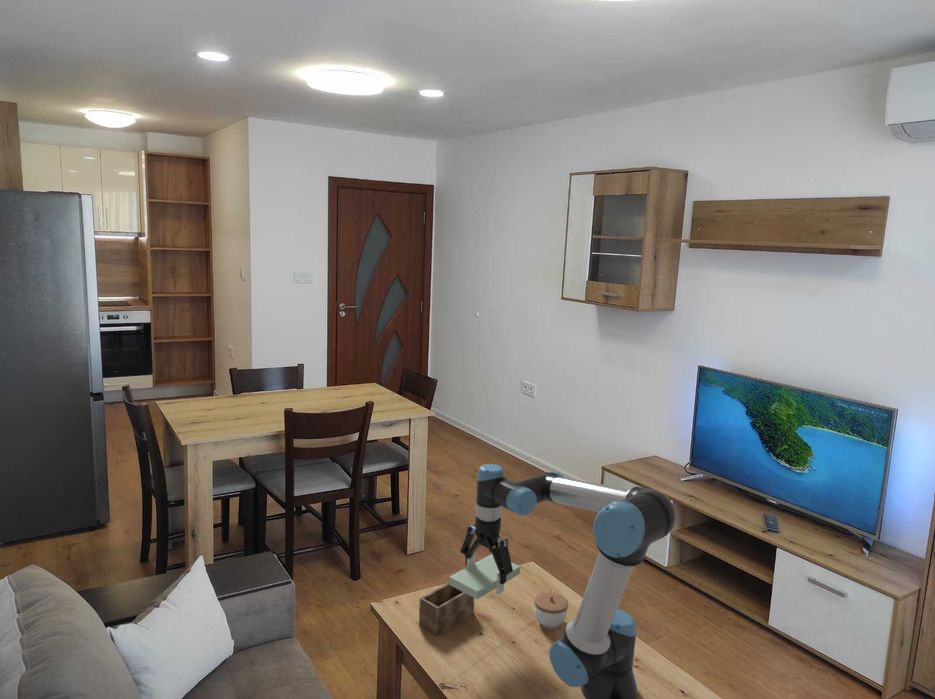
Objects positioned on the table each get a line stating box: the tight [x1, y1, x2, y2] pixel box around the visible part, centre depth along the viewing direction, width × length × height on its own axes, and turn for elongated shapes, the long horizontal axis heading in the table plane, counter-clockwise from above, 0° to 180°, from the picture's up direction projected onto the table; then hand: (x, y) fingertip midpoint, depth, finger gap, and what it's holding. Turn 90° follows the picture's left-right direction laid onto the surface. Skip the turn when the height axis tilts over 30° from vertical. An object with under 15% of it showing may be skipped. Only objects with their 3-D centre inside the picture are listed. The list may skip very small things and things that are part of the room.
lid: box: [448, 553, 521, 600], centre depth 201 cm, size 20×11×4 cm, turn 138°
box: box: [418, 582, 475, 637], centre depth 213 cm, size 17×8×10 cm, turn 138°
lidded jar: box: [534, 591, 569, 629], centre depth 215 cm, size 11×11×9 cm
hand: (484, 584), depth 201 cm, fingers closed on lid, 11 cm apart
